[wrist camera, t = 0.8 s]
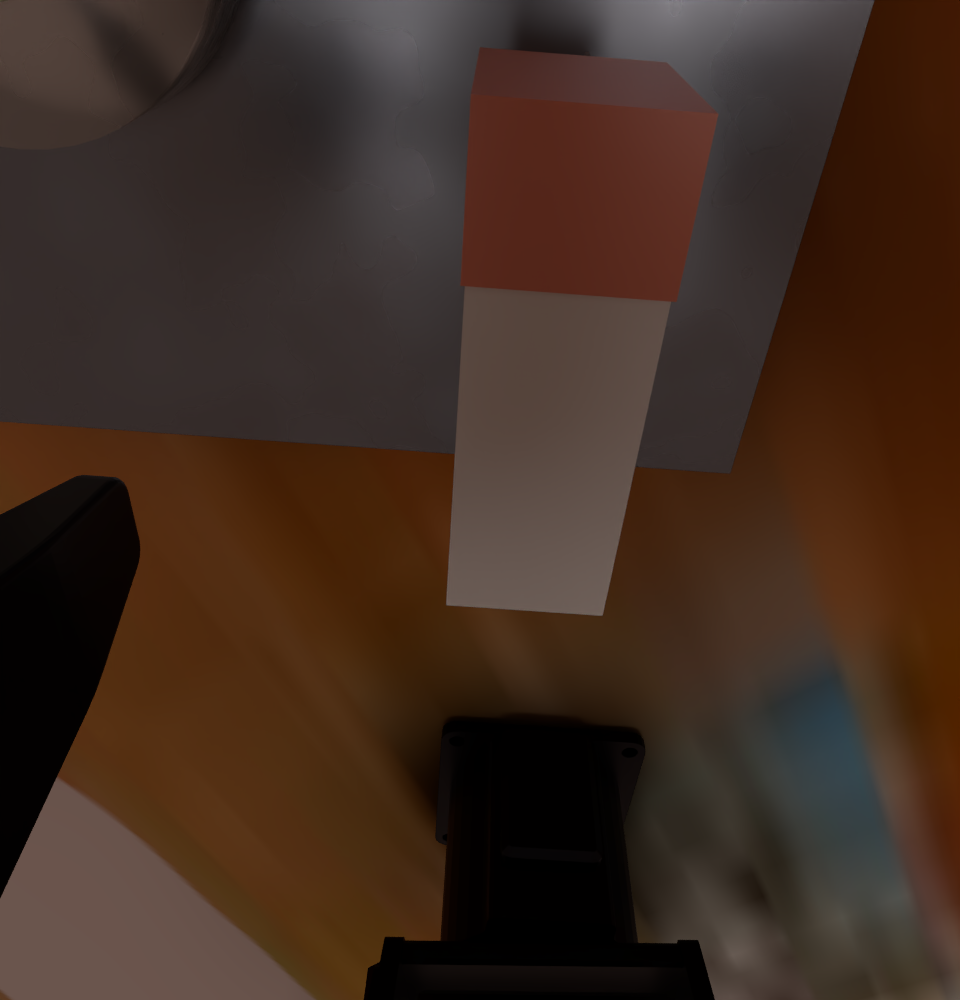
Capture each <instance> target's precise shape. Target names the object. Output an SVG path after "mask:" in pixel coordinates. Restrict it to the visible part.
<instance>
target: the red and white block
mask: <svg viewBox="0 0 960 1000" xmlns="http://www.w3.org/2000/svg"><path fill="white" fill-rule="evenodd" d="M717 118H718V113H717V112H716V111H715V110H714V109H713V108H712V107H711V106H710V105H709V104H708V103H707V102H706V101H705V100H704V99H703V98H702V97H701V96H700V95H699V94H698V93H697V92H696V91H695V90H694V89H693V88H692V87H691V86H690V85H689V84H688V83H687V82H686V81H685V80H684V79H683V78H682V77H681V76H680V75H679V74H678V73H677V72H676V71H675V70H674V69H673V68H672V67H671V66H670V65H669V64H668V63H667V62H657V61H645V60H632V59H620V58H607V57H595V56H582V55H570V54H557V53H545V52H532V51H520V50H508V49H495V48H483V47H480V50H479V55H478V60H477V65H476V70H475V75H474V80H473V85H472V91H471V100H470V118H469V136H468V154H467V173H466V191H465V209H464V228H463V246H462V264H461V282H460V286H465V290H464V308H463V325H462V342H461V359H460V376H459V394H458V411H457V428H456V445H455V462H454V480H453V497H452V514H451V531H450V548H449V566H448V583H447V600H446V605H452V606H466V607H481V608H496V609H510V610H525V611H540V612H554V613H569V614H584V615H599V616H603V611H604V607H605V602H606V597H607V593H608V588H609V584H610V579H611V575H612V570H613V565H614V561H615V556H616V552H617V547H618V543H619V538H620V533H621V529H622V524H623V520H624V515H625V511H626V506H627V501H628V497H629V492H630V488H631V483H632V479H633V474H634V469H635V465H636V460H637V456H638V451H639V447H640V442H641V437H642V433H643V428H644V424H645V419H646V415H647V410H648V405H649V401H650V396H651V392H652V387H653V383H654V378H655V373H656V369H657V364H658V360H659V355H660V351H661V346H662V341H663V337H664V332H665V328H666V323H667V318H668V314H669V309H670V305H671V302H677V298H678V293H679V289H680V284H681V280H682V275H683V271H684V266H685V262H686V257H687V253H688V248H689V244H690V239H691V235H692V230H693V226H694V221H695V217H696V213H697V208H698V204H699V199H700V195H701V190H702V186H703V181H704V177H705V172H706V168H707V163H708V159H709V154H710V150H711V145H712V141H713V136H714V132H715V127H716V123H717Z"/></svg>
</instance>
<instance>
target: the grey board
mask: <svg viewBox="0 0 960 1000" xmlns="http://www.w3.org/2000/svg"><path fill="white" fill-rule="evenodd" d="M873 3H874V0H0V421H2V422H16V423H30V424H44V425H58V426H72V427H86V428H100V429H114V430H128V431H142V432H156V433H170V434H184V435H198V436H212V437H226V438H240V439H254V440H268V441H282V442H296V443H310V444H324V445H338V446H352V447H366V448H380V449H394V450H408V451H422V452H436V453H450V454H455V445H456V428H457V411H458V394H459V376H460V359H461V342H462V325H463V308H464V290H465V286H460V282H461V264H462V246H463V228H464V209H465V191H466V173H467V154H468V136H469V118H470V100H471V91H472V85H473V80H474V75H475V70H476V65H477V60H478V55H479V50H480V47H483V48H495V49H508V50H520V51H532V52H545V53H557V54H570V55H582V56H595V57H607V58H620V59H632V60H645V61H657V62H667V63H668V64H669V65H670V66H671V67H672V68H673V69H674V70H675V71H676V72H677V73H678V74H679V75H680V76H681V77H682V78H683V79H684V80H685V81H686V82H687V83H688V84H689V85H690V86H691V87H692V88H693V89H694V90H695V91H696V92H697V93H698V94H699V95H700V96H701V97H702V98H703V99H704V100H705V101H706V102H707V103H708V104H709V105H710V106H711V107H712V108H713V109H714V110H715V111H716V112H717V113H718V118H717V123H716V127H715V132H714V136H713V141H712V145H711V150H710V154H709V159H708V163H707V168H706V172H705V177H704V181H703V186H702V190H701V195H700V199H699V204H698V208H697V213H696V217H695V221H694V226H693V230H692V235H691V239H690V244H689V248H688V253H687V257H686V262H685V266H684V271H683V275H682V280H681V284H680V289H679V293H678V298H677V302H671V305H670V309H669V314H668V318H667V323H666V328H665V332H664V337H663V341H662V346H661V351H660V355H659V360H658V364H657V369H656V373H655V378H654V383H653V387H652V392H651V396H650V401H649V405H648V410H647V415H646V419H645V424H644V428H643V433H642V437H641V442H640V447H639V451H638V456H637V460H636V465H635V467H646V468H660V469H674V470H688V471H702V472H716V473H730V472H731V469H732V466H733V462H734V459H735V456H736V453H737V449H738V446H739V443H740V439H741V436H742V433H743V430H744V426H745V423H746V420H747V416H748V413H749V410H750V407H751V403H752V400H753V397H754V393H755V390H756V387H757V384H758V380H759V377H760V374H761V371H762V367H763V364H764V361H765V357H766V354H767V351H768V348H769V344H770V341H771V338H772V334H773V331H774V328H775V325H776V321H777V318H778V315H779V311H780V308H781V305H782V302H783V298H784V295H785V292H786V289H787V285H788V282H789V279H790V275H791V272H792V269H793V266H794V262H795V259H796V256H797V252H798V249H799V246H800V243H801V239H802V236H803V233H804V229H805V226H806V223H807V220H808V216H809V213H810V210H811V206H812V203H813V200H814V197H815V193H816V190H817V187H818V184H819V180H820V177H821V174H822V170H823V167H824V164H825V161H826V157H827V154H828V151H829V147H830V144H831V141H832V138H833V134H834V131H835V128H836V124H837V121H838V118H839V115H840V111H841V108H842V105H843V101H844V98H845V95H846V92H847V88H848V85H849V82H850V79H851V75H852V72H853V69H854V65H855V62H856V59H857V56H858V52H859V49H860V46H861V42H862V39H863V36H864V33H865V29H866V26H867V23H868V19H869V16H870V13H871V10H872V6H873Z"/></svg>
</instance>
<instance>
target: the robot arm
mask: <svg viewBox="0 0 960 1000" xmlns="http://www.w3.org/2000/svg"><path fill="white" fill-rule="evenodd" d="M139 558H140V541H139V536H138V532H137V528H136V523H135V519H134V515H133V510H132V506H131V502H130V497H129V493H128V490H127V487H126V486H125V484H124V482H123V481H121V480H120V479H118V478H116V477H104V476H90V475H81V476H76V477H74V478H72V479H70V480H68V481H66V482H64V483H62V484H60V485H58V486H56V487H54V488H52V489H50V490H48V491H46V492H44V493H42V494H40V495H38V496H36V497H34V498H32V499H31V500H29V501H27V502H25V503H23V504H21V505H19V506H17V507H15V508H13V509H11V510H9V511H7V512H5V513H3V514H1V515H0V898H1V895H2V893H3V891H4V889H5V887H6V885H7V883H8V880H9V878H10V876H11V874H12V872H13V870H14V867H15V865H16V863H17V861H18V859H19V857H20V855H21V853H22V850H23V848H24V846H25V844H26V842H27V840H28V838H29V835H30V833H31V831H32V829H33V827H34V825H35V823H36V820H37V818H38V816H39V814H40V812H41V810H42V807H43V805H44V803H45V801H46V799H47V797H48V795H49V793H50V790H51V788H52V786H53V784H54V782H55V780H56V778H57V775H58V773H59V771H60V769H61V767H62V765H63V763H64V760H65V758H66V756H67V754H68V752H69V750H70V748H71V745H72V743H73V741H74V739H75V737H76V735H77V733H78V730H79V728H80V726H81V724H82V722H83V720H84V718H85V715H86V713H87V711H88V709H89V706H90V704H91V702H92V699H93V697H94V695H95V692H96V690H97V687H98V684H99V681H100V679H101V676H102V673H103V670H104V667H105V664H106V661H107V658H108V655H109V652H110V649H111V646H112V643H113V640H114V637H115V634H116V631H117V628H118V625H119V622H120V619H121V615H122V612H123V609H124V606H125V603H126V600H127V597H128V594H129V591H130V588H131V585H132V582H133V579H134V576H135V573H136V570H137V567H138V563H139ZM644 756H645V746H644V740H643V738H642V737H641V736H640V735H638V734H636V733H631V732H617V731H601V730H586V729H571V728H556V727H541V726H525V725H510V724H495V723H480V722H464V721H452V722H450V723H447V724H446V725H445V726H444V727H443V729H442V739H441V755H440V771H439V788H438V804H437V820H436V836H435V837H436V840H437V841H438V842H439V843H441V844H444V845H447V848H446V863H445V878H444V894H443V909H442V925H441V940H440V941H405V938H404V937H385V939H384V944H383V949H382V954H381V960H380V962H379V963H377V964H375V965H373V966H371V967H369V968H368V972H367V980H366V988H365V995H364V1000H715V999H714V995H713V992H712V988H711V984H710V981H709V977H708V973H707V970H706V966H705V963H704V959H703V955H702V952H701V948H700V944H699V941H698V940H678V942H677V944H676V943H638V939H637V931H636V923H635V915H634V907H633V899H632V891H631V883H630V875H629V867H628V859H627V851H626V843H625V835H624V827H623V825H624V822H625V818H626V815H627V812H628V809H629V805H630V802H631V799H632V795H633V792H634V789H635V786H636V782H637V779H638V776H639V773H640V769H641V766H642V763H643V759H644Z"/></svg>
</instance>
